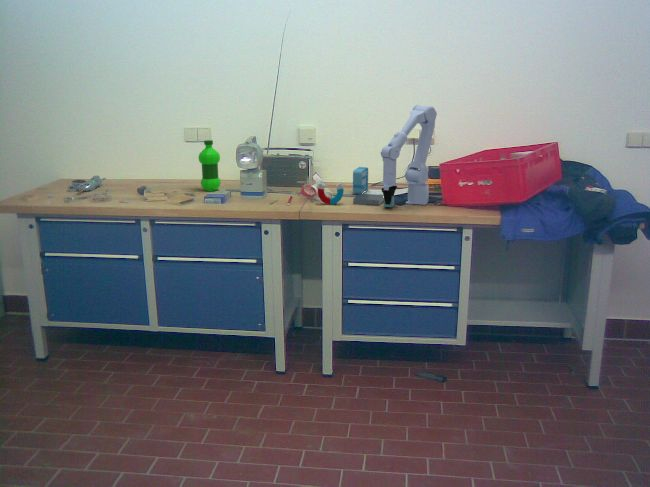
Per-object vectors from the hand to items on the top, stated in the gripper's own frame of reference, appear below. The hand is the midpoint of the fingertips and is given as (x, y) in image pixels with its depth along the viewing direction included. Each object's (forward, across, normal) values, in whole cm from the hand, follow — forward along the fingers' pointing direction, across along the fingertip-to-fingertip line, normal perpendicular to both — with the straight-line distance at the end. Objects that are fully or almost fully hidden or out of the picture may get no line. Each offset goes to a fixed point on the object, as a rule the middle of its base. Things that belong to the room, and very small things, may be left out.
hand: (388, 202), depth 293 cm
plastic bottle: (+2, -12, -94) cm, 95 cm away
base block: (+2, -8, -11) cm, 14 cm away
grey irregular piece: (+2, +6, -159) cm, 159 cm away
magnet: (+2, +1, -27) cm, 27 cm away
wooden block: (+1, 0, 0) cm, 1 cm away
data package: (+2, -28, -20) cm, 34 cm away
